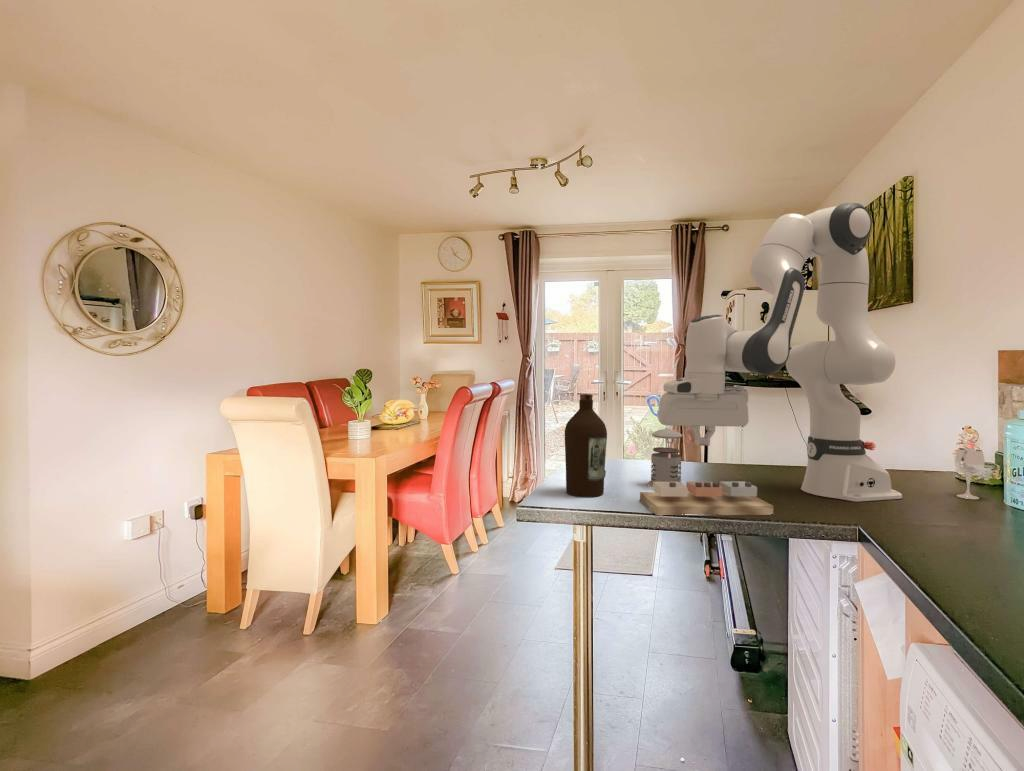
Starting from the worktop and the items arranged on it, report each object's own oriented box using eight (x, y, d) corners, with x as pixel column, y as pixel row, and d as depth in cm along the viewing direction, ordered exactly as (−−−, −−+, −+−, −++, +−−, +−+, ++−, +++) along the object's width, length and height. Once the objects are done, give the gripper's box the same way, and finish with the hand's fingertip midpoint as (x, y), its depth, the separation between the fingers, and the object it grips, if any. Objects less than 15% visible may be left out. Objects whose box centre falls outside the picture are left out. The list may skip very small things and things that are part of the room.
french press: (642, 486, 148) (644, 393, 147) (653, 478, 158) (655, 390, 157) (680, 491, 143) (683, 394, 142) (689, 482, 154) (691, 392, 152)
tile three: (711, 489, 131) (711, 478, 131) (722, 496, 125) (722, 483, 125) (686, 490, 131) (686, 478, 131) (696, 496, 125) (696, 484, 125)
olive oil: (555, 492, 141) (556, 394, 140) (581, 486, 148) (583, 392, 147) (588, 500, 133) (589, 396, 132) (614, 493, 141) (616, 394, 139)
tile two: (744, 489, 131) (744, 478, 131) (756, 496, 125) (757, 483, 125) (719, 489, 131) (719, 478, 131) (730, 496, 125) (731, 483, 125)
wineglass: (983, 497, 140) (985, 449, 139) (981, 501, 136) (984, 452, 135) (954, 493, 144) (956, 447, 143) (952, 497, 140) (954, 449, 139)
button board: (745, 499, 135) (745, 491, 135) (773, 514, 122) (773, 505, 122) (639, 500, 134) (640, 492, 134) (656, 515, 121) (656, 506, 121)
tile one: (677, 490, 131) (678, 478, 130) (687, 496, 125) (687, 484, 124) (652, 490, 130) (653, 478, 130) (661, 496, 124) (661, 484, 124)
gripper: (742, 385, 131) (739, 443, 132) (656, 384, 130) (655, 442, 131) (755, 387, 125) (752, 448, 126) (665, 385, 124) (663, 446, 125)
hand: (702, 445), depth 128 cm, fingers closed
